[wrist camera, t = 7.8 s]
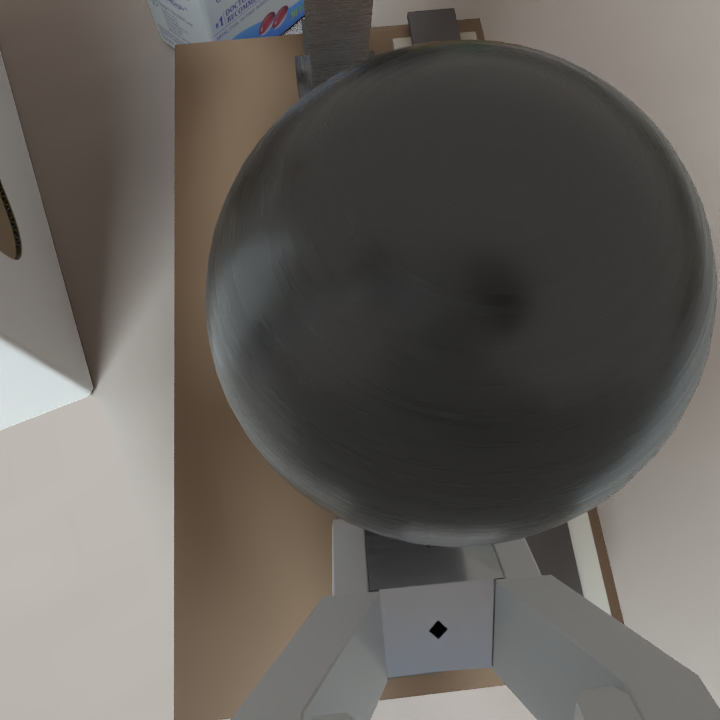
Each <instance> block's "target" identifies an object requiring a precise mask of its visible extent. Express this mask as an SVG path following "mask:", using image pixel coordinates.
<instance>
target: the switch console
mask: <svg viewBox="0 0 720 720" xmlns="http://www.w3.org/2000/svg"><path fill="white" fill-rule="evenodd" d="M407 19H408V24H409V25H397V26H386V27H374V28H371V29H370V41H369V49H374V51H375V55H378V54H381V53H384V52H387V51H390V50H394V49H398V48H402V47H406V46H410V45H415V44H422V43H429V42H436V41H446V40H485V39H484V35H483V31H482V27H481V23H480V18H478V19H467V20H457V19H456V15H455V10H454V8H450V9H439V10H427V11H415V12H408V15H407ZM302 30H303V34H294V35H282V36H271V37H259V38H248V39H236V40H224V41H213V42H201V43H190V44H178V45H175V382H174V720H222V719H230V718H232V717H233V716H234V714H235V713H236V712H237V710H238V709H239V708H240V706H241V705H242V704H243V702H244V701H245V700H246V698H247V697H248V696H249V694H250V693H251V692H252V690H253V689H254V688H255V686H256V685H257V684H258V682H259V681H260V680H261V679H262V677H263V676H264V675H265V673H266V672H267V671H268V669H269V668H270V667H271V665H272V664H273V663H274V661H275V660H276V659H277V657H278V656H279V655H280V653H281V652H282V651H283V649H284V648H285V647H286V645H287V644H288V643H289V641H290V640H291V639H292V637H293V636H294V635H295V633H296V632H297V631H298V629H299V628H300V627H301V625H302V624H303V623H304V621H305V620H306V619H307V617H308V616H309V615H310V613H311V612H312V611H313V609H314V608H315V607H316V605H317V604H318V603H319V601H320V600H321V599H322V598H323V597H325V596H332V524H333V520H335V519H336V516H335V515H333V514H331V513H329V512H327V511H325V510H324V509H322V508H320V507H318V506H317V505H316V504H314V503H313V502H312V501H310V500H309V499H308V498H306V497H305V496H303V495H302V494H301V493H299V492H298V491H297V490H295V489H294V488H293V487H291V486H290V485H289V484H288V483H287V482H286V481H285V480H284V479H283V478H282V477H281V476H280V475H279V474H278V473H277V472H276V471H275V470H274V469H273V468H272V467H271V466H270V465H269V464H268V463H267V462H266V460H265V459H264V458H263V456H262V455H261V454H260V453H259V451H258V450H257V449H256V447H255V446H254V445H253V444H252V442H251V441H250V440H249V438H248V436H247V435H246V433H245V431H244V429H243V428H242V426H241V424H240V422H239V421H238V419H237V417H236V415H235V414H234V412H233V410H232V408H231V407H230V405H229V403H228V401H227V398H226V396H225V393H224V391H223V388H222V386H221V383H220V381H219V378H218V376H217V373H216V368H215V364H214V360H213V356H212V352H211V347H210V343H209V336H208V329H207V318H206V307H205V292H206V274H207V266H208V259H209V254H210V249H211V244H212V239H213V234H214V229H215V226H216V223H217V220H218V218H219V215H220V212H221V209H222V206H223V204H224V201H225V199H226V197H227V195H228V192H229V190H230V188H231V186H232V184H233V182H234V180H235V178H236V176H237V175H238V173H239V171H240V169H241V167H242V165H243V163H244V161H245V160H246V159H247V157H248V156H249V154H250V153H251V152H252V150H253V149H254V148H255V146H256V145H257V143H258V142H259V141H260V139H261V138H262V137H263V136H264V135H265V134H266V132H267V131H268V130H269V129H270V128H271V127H272V126H273V125H274V123H275V122H276V121H277V120H278V119H279V118H280V117H281V116H282V115H283V114H284V113H285V112H286V111H287V110H288V109H289V108H290V107H291V106H292V105H293V104H295V103H296V102H297V101H298V100H299V96H298V87H297V78H296V68H295V56H298V55H309V46H308V37H307V28H306V19H303V20H302ZM525 540H526V542H527V544H528V546H529V548H530V551H531V553H532V555H533V557H534V559H535V561H536V564H537V566H538V568H539V570H540V572H541V575H552V576H554V577H555V578H557V579H558V580H560V581H561V582H563V583H564V584H565V585H567V586H568V587H570V588H571V589H573V590H574V591H576V592H577V593H579V594H580V595H581V596H583V597H584V598H586V599H587V600H589V601H590V602H592V603H593V604H595V605H596V606H597V607H599V608H600V609H602V610H603V611H605V612H606V613H608V614H609V615H611V616H612V617H613V618H615V619H616V620H618V621H619V622H621V623H622V624H624V621H623V617H622V613H621V609H620V605H619V601H618V596H617V592H616V588H615V584H614V580H613V575H612V571H611V567H610V563H609V559H608V554H607V550H606V546H605V542H604V538H603V534H602V529H601V525H600V521H599V517H598V513H597V508H596V507H595V508H593V509H591V510H589V511H587V512H586V513H584V514H582V515H580V516H578V517H576V518H574V519H572V520H570V521H568V522H566V523H564V524H562V525H559V526H557V527H555V528H552V529H549V530H546V531H544V532H541V533H538V534H535V535H532V536H529V537H526V538H525ZM502 685H506V684H505V683H504V682H503V681H502V680H501V679H500V678H499V677H498V676H497V675H496V673H495V672H494V671H493V668H481V669H466V670H452V671H438V672H430V673H422V674H415V675H407V676H399V677H391V678H387V684H386V686H385V688H384V690H383V692H382V695H381V697H380V699H379V700H386V699H395V698H403V697H411V696H419V695H428V694H436V693H444V692H452V691H460V690H469V689H477V688H485V687H493V686H502Z"/></svg>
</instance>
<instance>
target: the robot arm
mask: <svg viewBox="0 0 720 720" xmlns="http://www.w3.org/2000/svg"><path fill="white" fill-rule="evenodd" d="M364 530H365V529H362V528H360V527H357V526H354V525H352V524H349V523H347V522H346V521H344V520H342V519H335V520H333V524H332V596H325V597H323V598H322V599H321V600H320V601H319V603H318V604H317V605H316V607H315V608H314V609H313V611H312V612H311V613H310V615H309V616H308V617H307V619H306V620H305V621H304V623H303V624H302V625H301V627H300V628H299V629H298V631H297V632H296V633H295V635H294V636H293V637H292V639H291V640H290V641H289V643H288V644H287V645H286V647H285V648H284V649H283V651H282V652H281V653H280V655H279V656H278V657H277V659H276V660H275V661H274V663H273V664H272V665H271V667H270V668H269V669H268V671H267V672H266V673H265V675H264V676H263V677H262V679H261V680H260V681H259V682H258V684H257V685H256V686H255V688H254V689H253V690H252V692H251V693H250V694H249V696H248V697H247V698H246V700H245V701H244V702H243V704H242V705H241V706H240V708H239V709H238V710H237V712H236V713H235V714H234V716H233V717H232V718H231V720H370V719H371V717H372V714H373V712H374V710H375V708H376V706H377V703H378V701H379V699H380V697H381V695H382V692H383V690H384V688H385V686H386V684H387V678H391V677H399V676H407V675H415V674H422V673H430V672H438V671H452V670H466V669H481V668H493V671H494V672H495V673H496V675H497V676H498V677H499V678H500V679H501V680H502V681H503V682H504V683H505V684H506V686H507V687H508V688H509V689H510V690H511V691H512V692H513V693H514V694H515V695H516V697H517V698H518V699H519V700H520V701H521V702H522V703H523V704H524V705H525V706H526V708H527V709H528V710H529V711H530V712H531V713H532V714H533V715H534V716H535V718H536V719H537V720H720V709H719V707H718V706H717V704H716V703H715V701H714V699H713V698H712V696H711V695H710V693H709V692H708V690H707V689H706V687H705V685H704V684H703V682H702V681H701V679H700V678H699V676H698V675H696V674H695V673H694V672H692V671H691V670H689V669H688V668H686V667H685V666H683V665H682V664H680V663H679V662H678V661H676V660H675V659H673V658H672V657H670V656H669V655H667V654H666V653H664V652H663V651H662V650H660V649H659V648H657V647H656V646H654V645H653V644H651V643H650V642H648V641H647V640H645V639H644V638H643V637H641V636H640V635H638V634H637V633H635V632H634V631H632V630H631V629H629V628H628V627H627V626H625V625H624V624H622V623H621V622H619V621H618V620H616V619H615V618H613V617H612V616H611V615H609V614H608V613H606V612H605V611H603V610H602V609H600V608H599V607H597V606H596V605H595V604H593V603H592V602H590V601H589V600H587V599H586V598H584V597H583V596H581V595H580V594H579V593H577V592H576V591H574V590H573V589H571V588H570V587H568V586H567V585H565V584H564V583H563V582H561V581H560V580H558V579H557V578H555V577H554V576H552V575H541V572H540V570H539V568H538V566H537V564H536V561H535V559H534V557H533V555H532V553H531V551H530V548H529V546H528V544H527V542H526V540H525V538H523V539H520V540H514V541H509V542H504V543H498V544H493V545H487V546H469V547H443V546H432V545H421V544H414V543H410V542H405V541H401V540H397V539H392V538H388V537H384V536H381V535H378V534H375V533H373V532H370V531H367V530H365V533H364Z"/></svg>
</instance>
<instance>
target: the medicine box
mask: <svg viewBox="0 0 720 720" xmlns="http://www.w3.org/2000/svg"><path fill="white" fill-rule="evenodd" d="M147 3H148V5H149V8H150V11H151V13H152V16H153V19H154V21H155V24H156V26H157V29H158V31H159V34H160V37H161V39H162V40H163V41H164V42H165V43H167V44H168V45H170V46H171V47H173V48H174V49H175V45H178V44H190V43H201V42H213V41H224V40H236V39H248V38H259V37H271V36H280V35H282V34H283V33H284V32H285V31H286V30H287V29H288V28H290V27H291V26H292V25H293V24H294V23H295V22H297V21H298V20H299V19H300V18H301V17H302V16H304V15H305V10H304V1H303V0H147Z"/></svg>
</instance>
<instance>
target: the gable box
mask: <svg viewBox="0 0 720 720" xmlns="http://www.w3.org/2000/svg"><path fill="white" fill-rule="evenodd" d="M93 389H94V388H93V385H92V381H91V378H90V374H89V370H88V367H87V363H86V359H85V356H84V352H83V349H82V345H81V341H80V338H79V334H78V330H77V327H76V323H75V320H74V316H73V312H72V309H71V305H70V301H69V298H68V294H67V291H66V287H65V283H64V280H63V276H62V272H61V269H60V265H59V262H58V258H57V254H56V251H55V247H54V243H53V240H52V236H51V233H50V229H49V225H48V222H47V218H46V214H45V211H44V207H43V203H42V200H41V196H40V193H39V189H38V185H37V182H36V178H35V174H34V171H33V167H32V164H31V160H30V156H29V153H28V149H27V145H26V142H25V138H24V135H23V131H22V127H21V124H20V120H19V116H18V113H17V109H16V106H15V102H14V98H13V95H12V91H11V87H10V84H9V80H8V77H7V73H6V69H5V66H4V62H3V58H2V55H1V51H0V430H2V429H5V428H7V427H10V426H13V425H15V424H18V423H20V422H23V421H26V420H28V419H31V418H33V417H36V416H39V415H41V414H44V413H46V412H49V411H52V410H54V409H57V408H59V407H62V406H65V405H67V404H70V403H72V402H75V401H78V400H80V399H83V398H85V397H88V396H90V394H91V392H92V390H93Z"/></svg>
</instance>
